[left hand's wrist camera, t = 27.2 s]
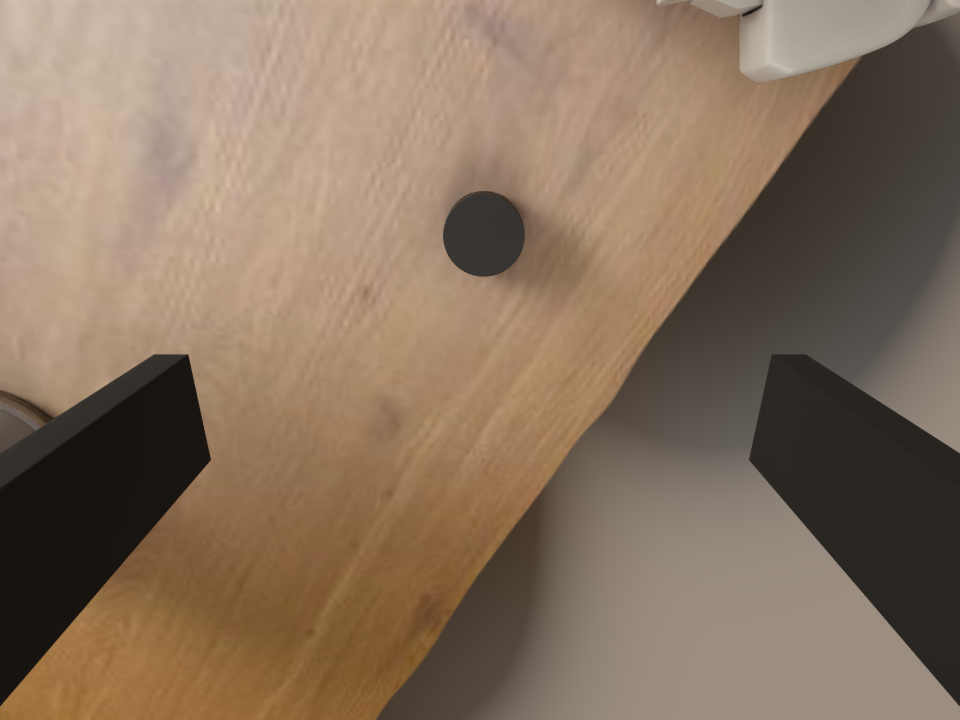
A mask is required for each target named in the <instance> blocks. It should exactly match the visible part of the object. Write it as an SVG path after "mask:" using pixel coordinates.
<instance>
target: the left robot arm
mask: <svg viewBox="0 0 960 720" xmlns="http://www.w3.org/2000/svg"><path fill="white" fill-rule="evenodd" d="M210 460H211V458H210V454H209V449H208V444H207V440H206V435H205V430H204V426H203V421H202V416H201V412H200V407H199V402H198V398H197V393H196V388H195V384H194V379H193V374H192V370H191V365H190V360H189V356H188V355H153V356H151V357H150V358H148V359H146V360H145V361H143V362H142V363H140V364H139V365H137V366H136V367H134V368H132V369H131V370H129V371H128V372H126V373H125V374H123V375H122V376H120V377H118V378H117V379H115V380H114V381H112V382H111V383H109V384H108V385H106V386H104V387H103V388H101V389H100V390H98V391H97V392H95V393H94V394H92V395H90V396H89V397H87V398H86V399H84V400H83V401H81V402H79V403H78V404H76V405H75V406H73V407H72V408H70V409H69V410H67V411H65V412H64V413H62V414H61V415H59V416H58V417H56V418H55V419H53V420H51V419H50V418H49V417H48V416H46V415H45V414H44V413H42V412H41V411H39V410H38V409H36V408H35V407H33V406H32V405H30V404H28V403H26V402H24V401H23V400H21V399H19V398H16V397H14V396H12V395H9V394H7V393H4V392H1V391H0V706H1V705H2V704H3V702H4V701H5V700H6V699H7V698H8V697H9V695H10V694H11V693H12V692H13V691H14V690H15V688H16V687H17V686H18V685H19V684H20V683H21V681H22V680H23V679H24V678H25V677H26V676H27V674H28V673H29V672H30V671H31V670H32V669H33V667H34V666H35V665H36V664H37V663H38V662H39V660H40V659H41V658H42V657H43V656H44V655H45V653H46V652H47V651H48V650H49V649H50V648H51V646H52V645H53V644H54V643H55V642H56V641H57V639H58V638H59V637H60V636H61V635H62V633H63V632H64V631H65V630H66V629H67V628H68V626H69V625H70V624H71V623H72V622H73V621H74V619H75V618H76V617H77V616H78V615H79V614H80V612H81V611H82V610H83V609H84V608H85V607H86V605H87V604H88V603H89V602H90V601H91V600H92V598H93V597H94V596H95V595H96V594H97V593H98V591H99V590H100V589H101V588H102V587H103V586H104V584H105V583H106V582H107V581H108V580H109V579H110V577H111V576H112V575H113V574H114V573H115V572H116V570H117V569H118V568H119V567H120V566H121V565H122V563H123V562H124V561H125V560H126V559H127V557H128V556H129V555H130V554H131V553H132V552H133V550H134V549H135V548H136V547H137V546H138V545H139V543H140V542H141V541H142V540H143V539H144V538H145V536H146V535H147V534H148V533H149V532H150V531H151V529H152V528H153V527H154V526H155V525H156V524H157V522H158V521H159V520H160V519H161V518H162V517H163V515H164V514H165V513H166V512H167V511H168V510H169V508H170V507H171V506H172V505H173V504H174V503H175V501H176V500H177V499H178V498H179V497H180V496H181V494H182V493H183V492H184V491H185V490H186V489H187V487H188V486H189V485H190V484H191V483H192V482H193V480H194V479H195V478H196V477H197V476H198V474H199V473H200V472H201V471H202V470H203V469H204V467H205V466H206V465H207V464H208V463H209V462H210ZM749 460H750V462H751V463H752V464H753V465H754V466H755V467H756V469H757V470H758V471H759V472H760V473H761V474H762V476H763V477H764V478H765V479H766V480H767V481H768V483H769V484H770V485H771V486H772V487H773V489H774V490H775V491H776V492H777V493H778V494H779V496H780V497H781V498H782V499H783V500H784V501H785V503H786V504H787V505H788V506H789V507H790V508H791V510H792V511H793V512H794V513H795V514H796V515H797V517H798V518H799V519H800V520H801V521H802V522H803V524H804V525H805V526H806V527H807V528H808V529H809V531H810V532H811V533H812V534H813V535H814V536H815V538H816V539H817V540H818V541H819V542H820V543H821V545H822V546H823V547H824V548H825V549H826V550H827V552H828V553H829V554H830V555H831V556H832V557H833V559H834V560H835V561H836V562H837V563H838V564H839V566H840V567H841V568H842V569H843V570H844V572H845V573H846V574H847V575H848V576H849V577H850V578H851V580H852V581H853V582H854V583H855V584H856V586H857V587H858V588H859V589H860V590H861V591H862V593H863V594H864V595H865V596H866V597H867V598H868V600H869V601H870V602H871V603H872V604H873V605H874V607H875V608H876V609H877V610H878V611H879V612H880V614H881V615H882V616H883V617H884V618H885V619H886V621H887V622H888V623H889V624H890V625H891V626H892V628H893V629H894V630H895V631H896V632H897V633H898V635H899V636H900V637H901V638H902V639H903V640H904V642H905V643H906V644H907V645H908V646H909V648H910V649H911V650H912V651H913V652H914V653H915V655H916V656H917V657H918V658H919V659H920V660H921V662H922V663H923V664H924V665H925V666H926V667H927V669H928V670H929V671H930V672H931V673H932V674H933V676H934V677H935V678H936V679H937V680H938V681H939V683H940V684H941V685H942V686H943V687H944V688H945V690H946V691H947V692H948V693H949V694H950V695H951V697H952V698H953V699H954V700H955V701H956V702H957V704H958V705H959V706H960V453H958V452H957V451H955V450H954V449H952V448H951V447H949V446H947V445H946V444H944V443H943V442H941V441H940V440H938V439H937V438H935V437H933V436H932V435H930V434H929V433H927V432H926V431H924V430H923V429H921V428H919V427H918V426H916V425H915V424H913V423H912V422H910V421H909V420H907V419H905V418H904V417H902V416H901V415H899V414H898V413H896V412H895V411H893V410H891V409H890V408H888V407H887V406H885V405H884V404H882V403H881V402H879V401H877V400H876V399H874V398H873V397H871V396H870V395H868V394H866V393H865V392H863V391H862V390H860V389H859V388H857V387H856V386H854V385H852V384H851V383H849V382H848V381H846V380H845V379H843V378H842V377H840V376H838V375H837V374H835V373H834V372H832V371H831V370H829V369H828V368H826V367H824V366H823V365H821V364H820V363H818V362H817V361H815V360H813V359H812V358H810V357H809V356H807V355H772V356H771V361H770V365H769V370H768V374H767V379H766V384H765V388H764V393H763V398H762V402H761V407H760V412H759V416H758V421H757V426H756V431H755V435H754V440H753V444H752V449H751V454H750V458H749Z"/></svg>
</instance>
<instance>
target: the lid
mask: <svg viewBox="0 0 960 720" xmlns="http://www.w3.org/2000/svg"><path fill="white" fill-rule="evenodd" d="M443 240H444V246H445V249H446V252H447V254H448V256H449V257H450V259H451V260H452V262H453V263H454V264H455V265H456V266H457V267H458V268H460V269H461V270H463V271H464V272H466V273H468V274H471V275H475V276H483V277H485V276H493V275H496V274H499V273H501V272H503V271H505V270H506V269H508V268H509V267H510V266H511V265H512V264H513V263H514V262H515V261H516V260H517V258H518V257H519V255H520V253H521V251H522V248H523V244H524V226H523V223H522V220H521V218H520V215H519V214H518V212H517V210H516V209H515V207H514V206H513V205H512V203H511V202H510V201H508V200H507V199H506V198H504V197H503V196H501V195H499V194H496V193H494V192H488V191H479V192H474V193H471V194H468V195H466V196H464V197H463V198H461V199H460V200H459V201H458V202H457V203H456V204H455V205H454V206H453V208H452V209H451V211H450V213H449V215H448V217H447V219H446V222H445V225H444V231H443Z"/></svg>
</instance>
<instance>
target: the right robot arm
mask: <svg viewBox="0 0 960 720" xmlns="http://www.w3.org/2000/svg"><path fill="white" fill-rule="evenodd" d="M684 1H689V4H691V5H693V6H696V7H698V8H700V9H702V10H704V11H706V12H708V13H710V14H712V15H714V16H716V17H719V18H725V17H730V16H735V15H740V56H739V65H740V71H741V73H742V74H743V75H744V76H746V77H747V78H749V79H750V80H752V81H753V82H755V83H758V84H760V83H765V82H770V81H775V80H780V79H784V78H788V77H792V76H796V75H800V74H804V73H807V72H811V71H815V70H819V69H822V68H825V67H829V66H832V65H835V64H839V63H842V62H845V61H848V60H851V59H854V58H856V57H859V56H862V55H864V54H867V53H870V52H872V51H875V50H877V49H880V48H882V47H885V46H887V45H888V44H891V43H892V42H894V41H896V40H898V39H899V38H901V37H902V36H903V35H905V34H906V33H907V32H909V31H910V30H911V29H912V28H915V27H919V26H923V25H926V24H930V23H933V22H936V21H939V20H942V19H944V18H947V17H950V16H952V15H955V14H957V13H960V0H656V3H657V6H664V5H669V4H674V3H679V2H684Z"/></svg>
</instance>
